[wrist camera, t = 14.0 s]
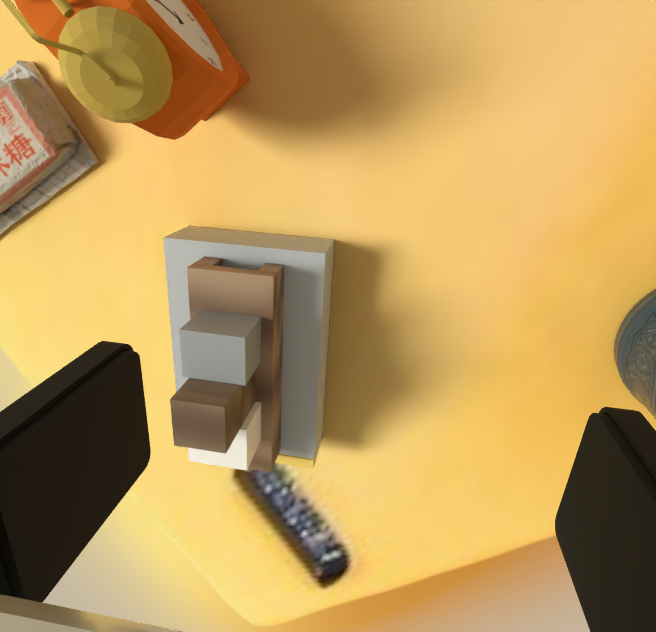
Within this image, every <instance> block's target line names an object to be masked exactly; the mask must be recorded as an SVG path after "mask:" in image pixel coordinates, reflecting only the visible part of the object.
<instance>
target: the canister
mask: <svg viewBox="0 0 656 632" xmlns="http://www.w3.org/2000/svg"><path fill="white" fill-rule="evenodd" d="M614 356H615V362H616V365H617V368H618V371H619V374H620V377H621V379H622V381H623V383H624V384H625V386H626V387H627V389H628V390H629V391H630V392H631V394H632V395H633V396H634V397H635V398H636V399H637V400H638V401H639V402H640V403H642V404H643V405H644V406H645V407H646V408H647V409H648V411H649V412H650V413H651V414H652V415H653V416H654V418H655V419H656V289H655V290H653V291H652V292H650V293H649V294H647V295H646V296H645V297H644V298H642V299H641V300H640V301H639V302H638V303H637V304H636V305H635V306H634V307H633V308H632V309H631V310H630V311H629V313H628V314H627V315H626V317H625V318H624V320H623V322H622V323H621V325H620V327H619V330H618V332H617V335H616V339H615V345H614Z"/></svg>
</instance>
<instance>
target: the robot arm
mask: <svg viewBox="0 0 656 632" xmlns="http://www.w3.org/2000/svg"><path fill="white" fill-rule="evenodd" d="M149 459H150V442H149V433H148V424H147V416H146V407H145V398H144V390H143V381H142V372H141V364H140V357H139V355H138V353H137V352H134V351H133V349H132V347H131V346H130V345H129V344H123V343H115V342H107V341H101V342H99V343H98V344H96V345H95V346H93V347H92V348H90V349H89V350H88V351H86V352H85V353H83V354H82V355H80V356H79V357H78V358H76V359H75V360H73V361H72V362H70V363H69V364H68V365H66V366H65V367H63V368H62V369H61V370H59V371H58V372H56V373H55V374H53V375H52V376H51V377H49V378H48V379H46V380H45V381H43V382H42V383H41V384H39V385H38V386H36V387H35V388H33V389H32V390H31V391H29V392H28V393H26V394H25V395H24V396H22V397H21V398H19V399H18V400H16V401H15V402H14V403H12V404H11V405H9V406H8V407H6V408H5V409H4V410H2V411H1V412H0V632H181V631H177V630H172V629H168V628H163V627H158V626H153V625H148V624H143V623H138V622H133V621H128V620H124V619H119V618H114V617H109V616H104V615H99V614H94V613H90V612H85V611H80V610H75V609H70V608H65V607H60V606H56V605H50V604H46V603H42V602H43V601H44V600H45V599H46V597H47V596H48V594H49V593H50V592H51V591H52V589H53V588H54V587H55V585H56V584H57V583H58V581H59V580H60V579H61V578H62V576H63V575H64V574H65V572H66V571H67V570H68V569H69V567H70V566H71V565H72V563H73V562H74V561H75V559H76V558H77V557H78V556H79V554H80V553H81V552H82V550H83V549H84V548H85V546H86V545H87V544H88V542H89V541H90V540H91V539H92V537H93V536H94V535H95V533H96V532H97V531H98V529H99V528H100V527H101V525H102V524H103V523H104V522H105V520H106V519H107V518H108V516H109V515H110V514H111V513H112V511H113V510H114V509H115V507H116V506H117V505H118V503H119V502H120V501H121V500H122V498H123V497H124V496H125V494H126V493H127V492H128V490H129V489H130V488H131V486H132V485H133V484H134V483H135V481H136V480H137V479H138V477H139V476H140V475H141V473H142V472H143V471H144V470H145V468H146V466H147V464H148V462H149ZM555 531H556V536H557V539H558V542H559V545H560V548H561V550H562V553H563V556H564V559H565V562H566V564H567V567H568V570H569V573H570V576H571V578H572V581H573V584H574V587H575V590H576V592H577V595H578V598H579V601H580V604H581V607H582V609H583V612H584V615H585V618H586V620H587V623H588V626H589V629H590V632H656V431H655V430H654V428H653V427H652V426H651V425H650V423H649V422H648V421H647V420H646V418H645V417H644V416H643V415H642V414H641V413H640V412H639V411H634V410H626V409H618V408H611V407H604V408H602V409H601V410H600V412H599V413H592V414H591V415H590V417H589V419H588V421H587V424H586V427H585V430H584V433H583V436H582V440H581V443H580V446H579V449H578V452H577V455H576V458H575V461H574V464H573V467H572V470H571V473H570V476H569V479H568V482H567V485H566V488H565V491H564V494H563V497H562V500H561V503H560V506H559V509H558V512H557V515H556V519H555Z"/></svg>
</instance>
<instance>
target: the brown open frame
mask: <svg viewBox="0 0 656 632" xmlns="http://www.w3.org/2000/svg"><path fill="white" fill-rule="evenodd" d="M187 278H188V293H189V308H190V319H192V318H193V317H194V316H195V315H196V314H197V313H198V312H199V311H201V310H209V311H217V312H225V313H234V314H242V315H250V316H258V317H261V362H260V363H259V365H258V367H257V368H256V370H255V371H254V373H253V375H252V376H251V378H250V379H249V381H248V382H247V384H246V386H244V385H237V384H230V383H223V382H215V381H208V380H201V379H194V378H188V380H187V381H186V382H185V383H184V384H183V385H182V386H181V388H180V389H179V390H178V391H177V392H176V393H175V395H174V396H173V397H172V398H171V399H170V403H171V414H172V425H173V437H174V445H175V446H181V447H187V448H194V449H200V450H206V451H213V452H219V453H225V454H226V453H227V451H228V449H229V447H230V446H231V444H232V442H233V440H234V439H235V437H236V435H237V433H238V431H239V430H240V428H241V426H242V424H243V422H244V421H245V419H246V417H247V415H248V413H249V412H250V410H251V408H252V406H253V404H254V403H255V402H261V441H260V444H259V446H258V448H257V450H256V452H255V454H254V456H253V458H252V461H251V463H250V465H249V467H248V469H254V470H260V471H266V472H272V469H273V467H274V464H275V462H276V459H277V457H278V454H279V452H280V449H281V405H282V355H283V305H284V264H274V263H265V264H264V265H263V266H262V267H261V268H260V269H259V270H252V269H242V268H233V267H223V264H222V258H216V257H206V256H204V257H203V258H201V259H199V260H198V261H196V262H195V263H193V264H192V265H190V266H188V267H187Z"/></svg>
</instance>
